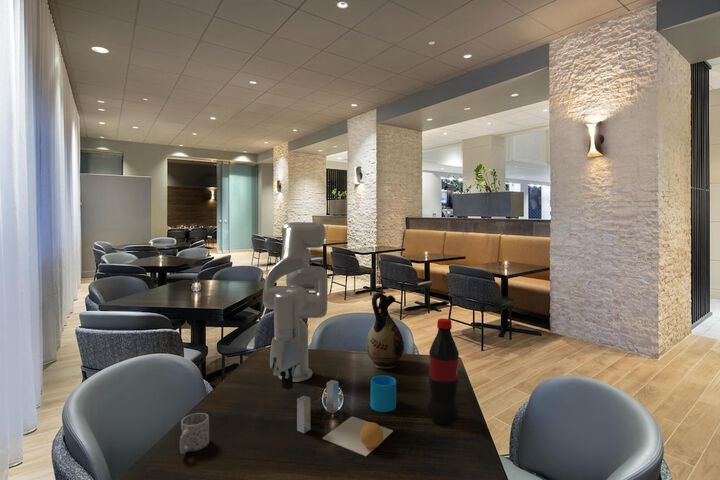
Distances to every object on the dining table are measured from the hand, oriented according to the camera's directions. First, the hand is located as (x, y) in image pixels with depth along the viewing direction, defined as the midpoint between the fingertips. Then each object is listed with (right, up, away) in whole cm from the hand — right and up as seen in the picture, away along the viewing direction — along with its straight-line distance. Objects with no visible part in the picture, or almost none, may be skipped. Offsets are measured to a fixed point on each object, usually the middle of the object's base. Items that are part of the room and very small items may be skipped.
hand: (287, 387), depth 121 cm
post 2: (+15, -6, -3) cm, 16 cm away
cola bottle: (+47, -7, -7) cm, 49 cm away
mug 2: (+30, -6, +3) cm, 31 cm away
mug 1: (-20, -7, -23) cm, 31 cm away
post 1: (+7, -6, -14) cm, 17 cm away
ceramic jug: (+32, -5, +35) cm, 48 cm away
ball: (+26, -4, -22) cm, 34 cm away
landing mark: (+23, -7, -16) cm, 29 cm away
